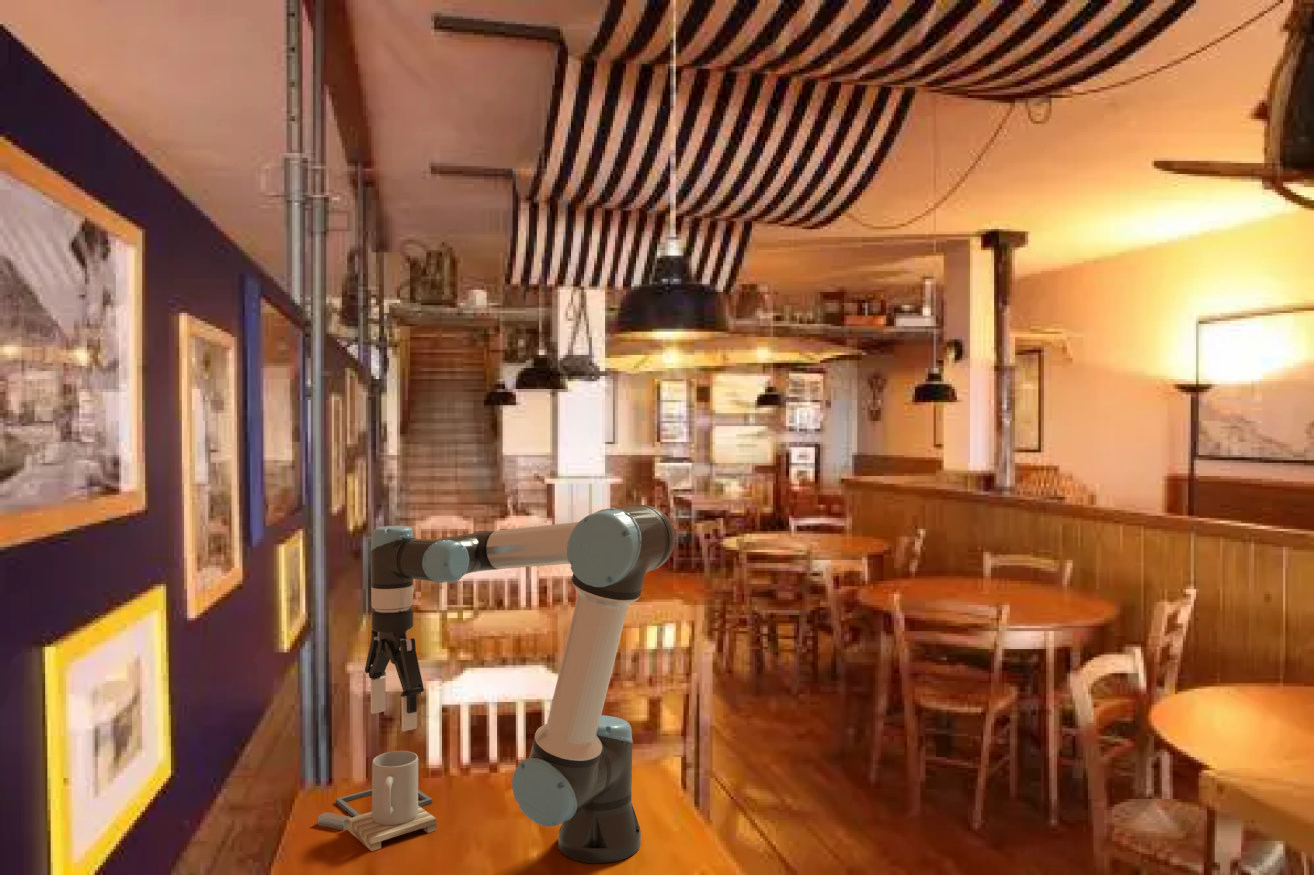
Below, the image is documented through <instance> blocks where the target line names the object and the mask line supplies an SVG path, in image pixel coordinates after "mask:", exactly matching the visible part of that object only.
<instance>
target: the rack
mask: <svg viewBox="0 0 1314 875" xmlns="http://www.w3.org/2000/svg"><path fill="white" fill-rule="evenodd" d="M350 817H351V818H348V824H347V829H346V830H347V831H348V832H349V833H350V834H351V835H353V837H355V838H356V839H357V840H358V841H360V843H362V844H363V846H365V847H366V848H368V850H369V851H371V852H373V851H376V850H379V849H382V842H383V841H387V840H390V839H392V838H395V837H399V836H401V835H406V834H407V833H411V832H414V831H418V830H420V829H422V830H423V831H425V832H426V833H427V834H428V833H429V834H430V833H432V832H435V831H438V830H437V826H438V824H437V817H435V816H433V814H431V813H429V812H428V811H426V810H425V809H424V808H422V806H421V807H420V806H418V815H417V816H416V818H414V819H413V820H411V821H409V822H407V823H404V824H399V825H391V826H387V825H380V824H377V823H375V822H374V821H373V820H372V811H369V812H366V813H361V814H360V815H358V816H355V817H352V816H350Z"/></svg>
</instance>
